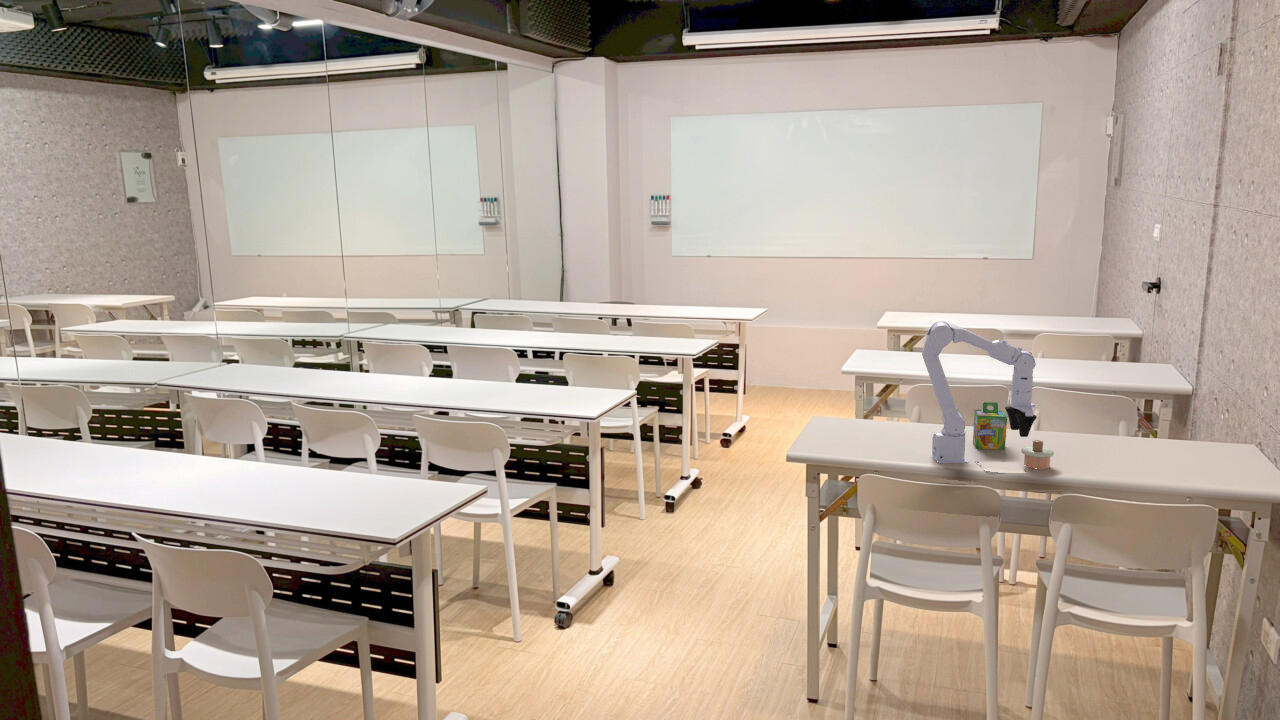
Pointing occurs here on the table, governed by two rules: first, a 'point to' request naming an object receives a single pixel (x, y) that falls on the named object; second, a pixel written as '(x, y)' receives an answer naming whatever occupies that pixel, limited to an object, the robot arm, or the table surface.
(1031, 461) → the bowl
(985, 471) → the mat
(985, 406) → the chalk box
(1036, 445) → the lid
